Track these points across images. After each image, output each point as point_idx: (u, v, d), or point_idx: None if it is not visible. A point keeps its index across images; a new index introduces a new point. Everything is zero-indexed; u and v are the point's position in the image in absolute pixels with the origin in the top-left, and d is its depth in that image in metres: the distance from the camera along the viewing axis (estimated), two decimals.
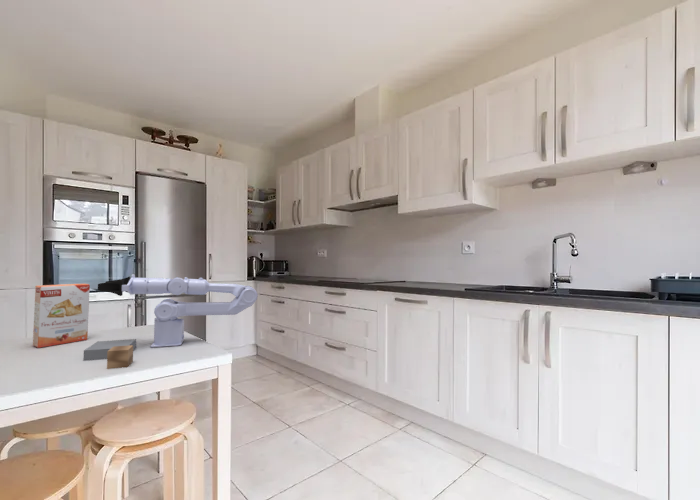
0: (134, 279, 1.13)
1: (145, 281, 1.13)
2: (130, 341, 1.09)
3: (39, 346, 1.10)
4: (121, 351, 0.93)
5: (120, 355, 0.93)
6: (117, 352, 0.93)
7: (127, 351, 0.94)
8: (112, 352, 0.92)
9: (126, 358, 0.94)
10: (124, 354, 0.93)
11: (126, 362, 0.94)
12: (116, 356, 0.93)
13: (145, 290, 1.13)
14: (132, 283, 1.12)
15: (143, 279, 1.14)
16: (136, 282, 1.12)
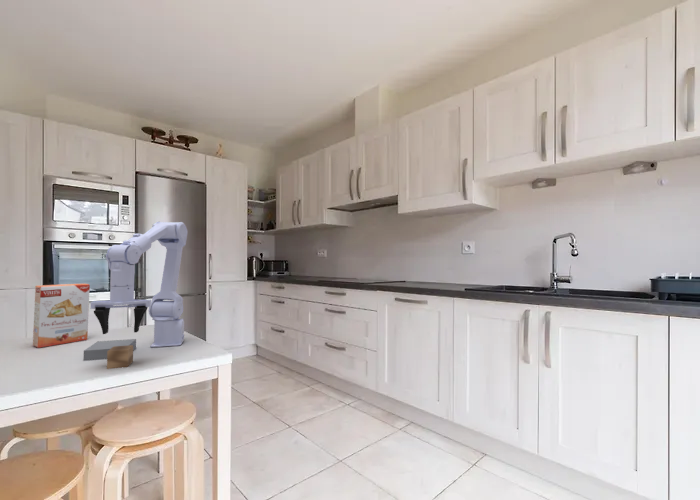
0: (125, 300, 0.94)
1: (129, 288, 0.95)
2: (130, 341, 1.09)
3: (39, 346, 1.10)
4: (121, 351, 0.93)
5: (120, 355, 0.93)
6: (117, 352, 0.93)
7: (127, 351, 0.94)
8: (112, 352, 0.92)
9: (126, 358, 0.94)
10: (124, 354, 0.93)
11: (126, 362, 0.94)
12: (116, 356, 0.93)
13: None
14: (131, 300, 0.95)
15: (125, 291, 0.94)
16: (131, 296, 0.95)
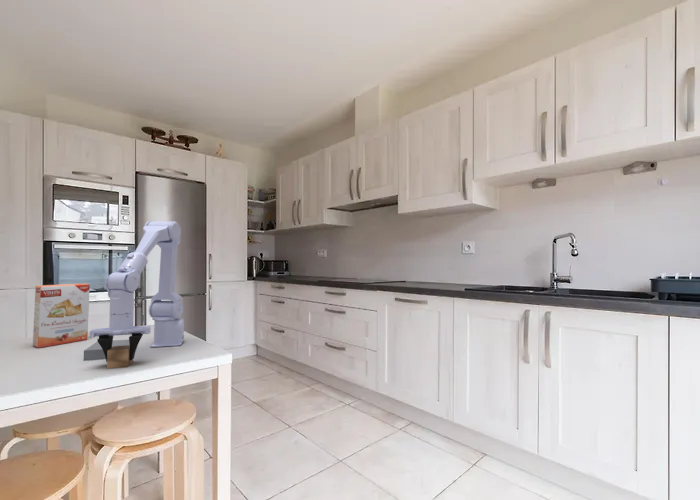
0: (125, 328, 0.94)
1: (128, 315, 0.94)
2: None
3: (39, 346, 1.10)
4: (121, 351, 0.93)
5: (120, 355, 0.93)
6: (117, 352, 0.93)
7: (127, 351, 0.94)
8: (112, 352, 0.92)
9: (126, 358, 0.93)
10: (124, 353, 0.93)
11: (126, 362, 0.93)
12: (116, 356, 0.93)
13: None
14: (130, 328, 0.95)
15: (125, 319, 0.94)
16: (130, 324, 0.95)
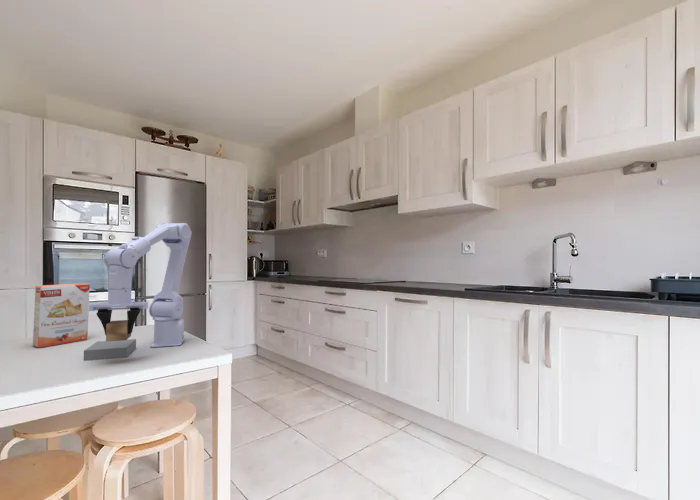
0: (123, 302, 0.96)
1: (126, 290, 0.97)
2: (130, 341, 1.09)
3: (39, 346, 1.10)
4: (120, 324, 0.96)
5: (119, 328, 0.96)
6: (116, 325, 0.96)
7: (125, 324, 0.97)
8: (111, 325, 0.95)
9: (124, 331, 0.96)
10: (122, 327, 0.96)
11: (124, 335, 0.96)
12: (115, 329, 0.96)
13: None
14: (129, 302, 0.98)
15: (123, 293, 0.96)
16: (128, 298, 0.98)
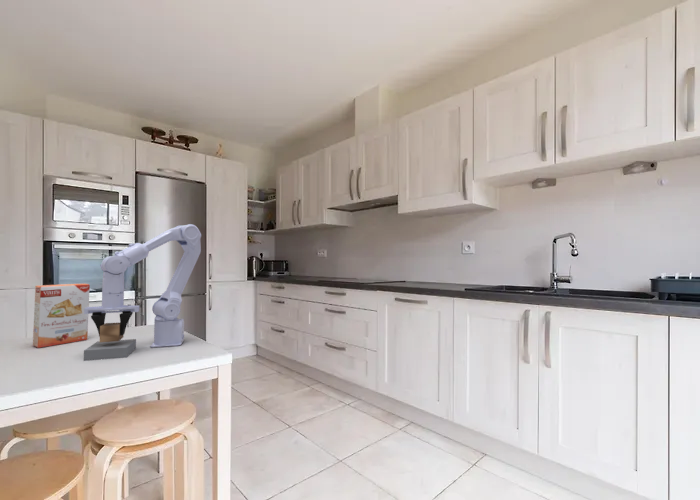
0: (116, 306, 1.04)
1: (119, 295, 1.05)
2: (130, 341, 1.09)
3: (39, 346, 1.10)
4: (112, 326, 1.03)
5: (111, 330, 1.03)
6: (109, 327, 1.03)
7: (118, 326, 1.04)
8: (104, 327, 1.03)
9: (117, 333, 1.04)
10: (115, 329, 1.04)
11: (117, 336, 1.04)
12: (108, 331, 1.03)
13: None
14: (121, 306, 1.05)
15: (116, 297, 1.04)
16: (121, 302, 1.05)
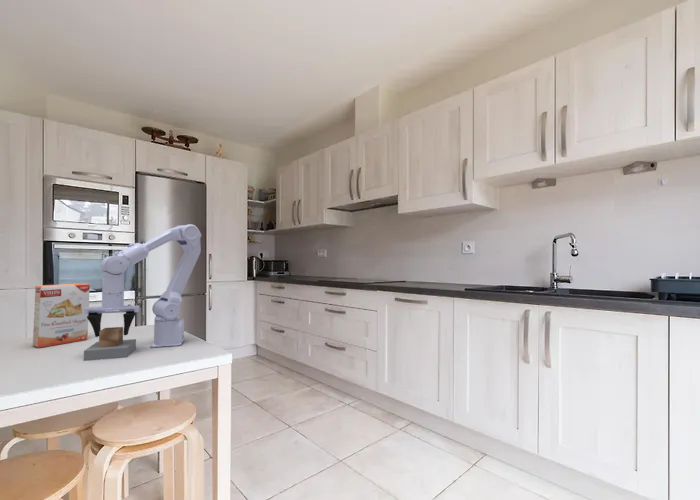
0: (116, 306, 1.04)
1: (119, 295, 1.05)
2: (130, 341, 1.09)
3: (39, 346, 1.10)
4: (112, 331, 1.03)
5: (111, 335, 1.03)
6: (108, 332, 1.03)
7: (117, 331, 1.04)
8: (104, 332, 1.03)
9: (116, 338, 1.04)
10: (114, 334, 1.04)
11: (116, 341, 1.04)
12: (107, 336, 1.03)
13: None
14: (121, 306, 1.05)
15: (116, 298, 1.04)
16: (121, 302, 1.05)
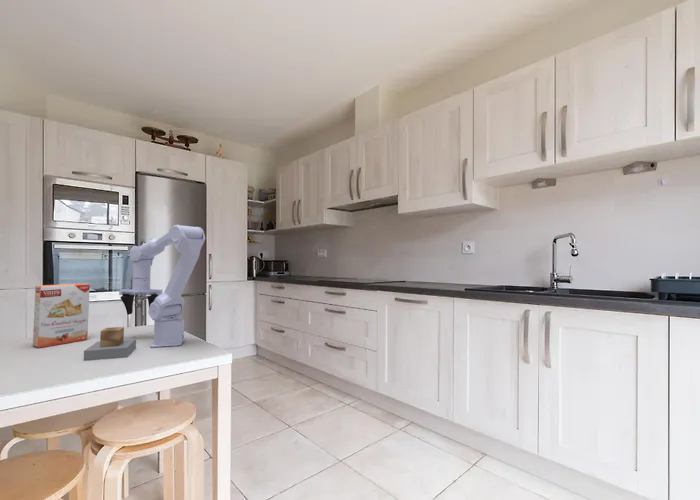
0: (142, 289, 1.22)
1: (145, 280, 1.22)
2: (130, 341, 1.09)
3: (39, 346, 1.10)
4: (113, 331, 1.04)
5: (112, 335, 1.03)
6: (109, 332, 1.03)
7: (118, 331, 1.04)
8: (105, 332, 1.03)
9: (117, 337, 1.04)
10: (115, 334, 1.04)
11: (117, 341, 1.04)
12: (108, 335, 1.03)
13: None
14: (147, 289, 1.23)
15: (142, 282, 1.22)
16: (146, 286, 1.23)
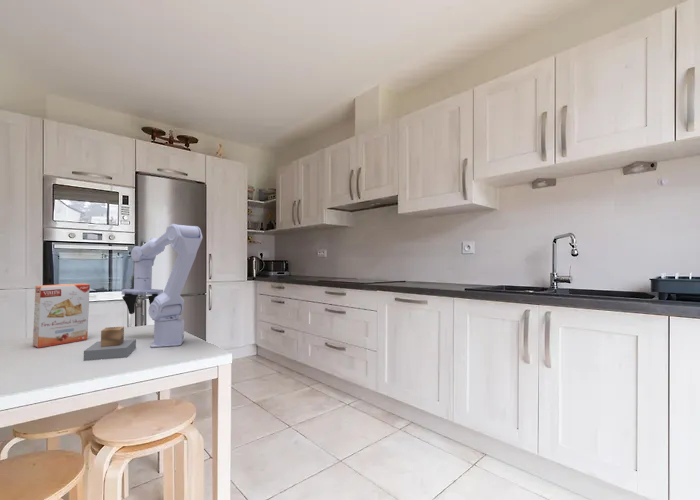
0: (143, 289, 1.23)
1: (146, 280, 1.23)
2: (130, 341, 1.09)
3: (39, 346, 1.10)
4: (114, 331, 1.04)
5: (113, 334, 1.04)
6: (110, 332, 1.03)
7: (119, 331, 1.04)
8: (106, 331, 1.03)
9: (118, 337, 1.04)
10: (116, 333, 1.04)
11: (118, 341, 1.04)
12: (109, 335, 1.03)
13: (151, 279, 1.26)
14: (148, 289, 1.24)
15: (143, 282, 1.23)
16: (147, 286, 1.24)
